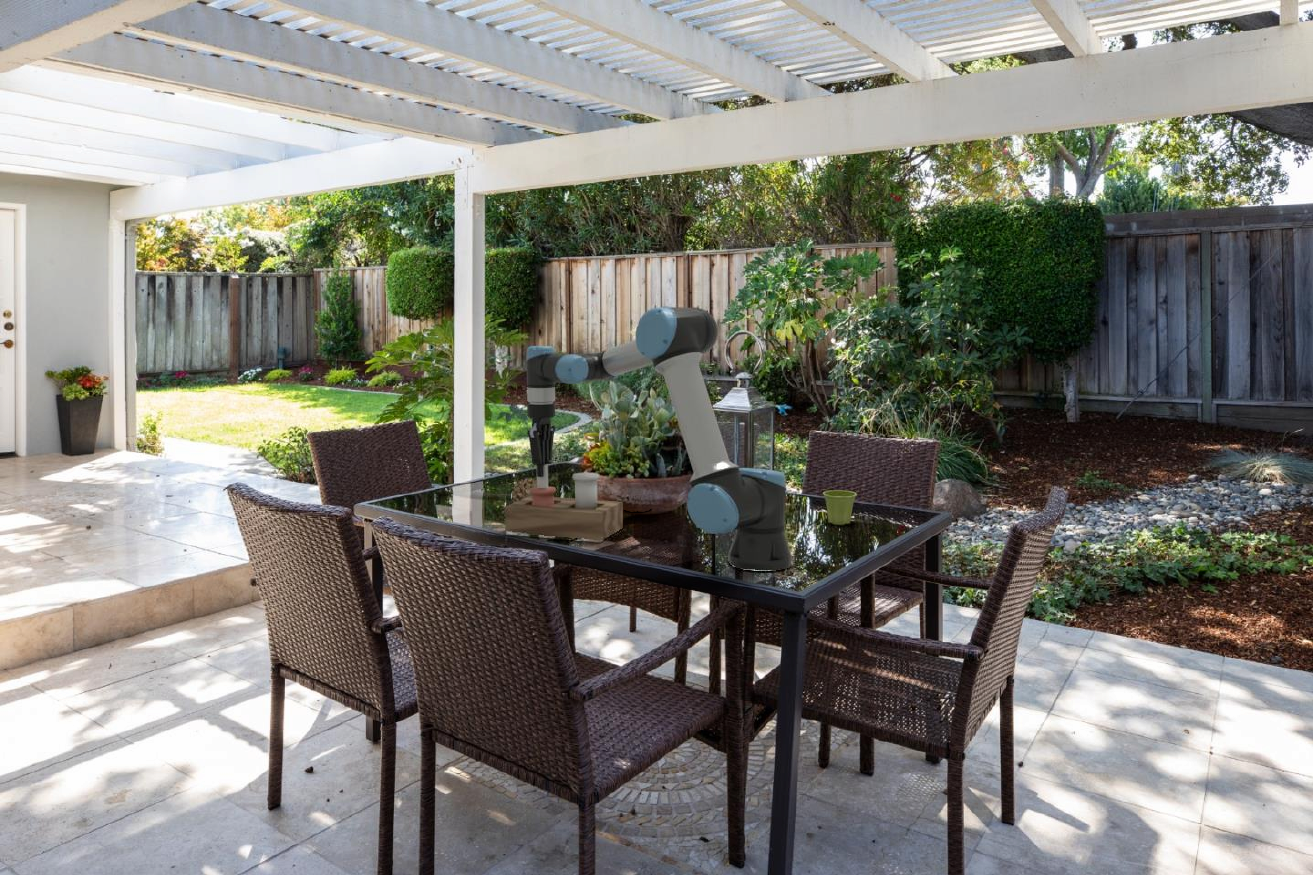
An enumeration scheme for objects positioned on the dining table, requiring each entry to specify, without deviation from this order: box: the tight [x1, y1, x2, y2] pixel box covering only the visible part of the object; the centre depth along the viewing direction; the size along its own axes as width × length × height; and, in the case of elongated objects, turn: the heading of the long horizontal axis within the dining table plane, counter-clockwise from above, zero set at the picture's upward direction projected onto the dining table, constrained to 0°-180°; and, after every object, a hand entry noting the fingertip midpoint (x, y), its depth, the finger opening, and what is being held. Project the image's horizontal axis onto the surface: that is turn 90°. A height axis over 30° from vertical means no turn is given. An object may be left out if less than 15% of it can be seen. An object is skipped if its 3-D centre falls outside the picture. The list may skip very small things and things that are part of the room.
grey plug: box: [572, 472, 600, 509], centre depth 251 cm, size 7×7×11 cm
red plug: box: [530, 485, 557, 506], centre depth 255 cm, size 7×7×11 cm
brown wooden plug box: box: [504, 496, 624, 540], centre depth 253 cm, size 16×28×8 cm, turn 71°
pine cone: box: [511, 478, 537, 503], centre depth 278 cm, size 22×10×10 cm, turn 8°
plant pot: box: [822, 489, 857, 526], centre depth 265 cm, size 9×9×9 cm
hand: (542, 487), depth 255 cm, fingers closed
